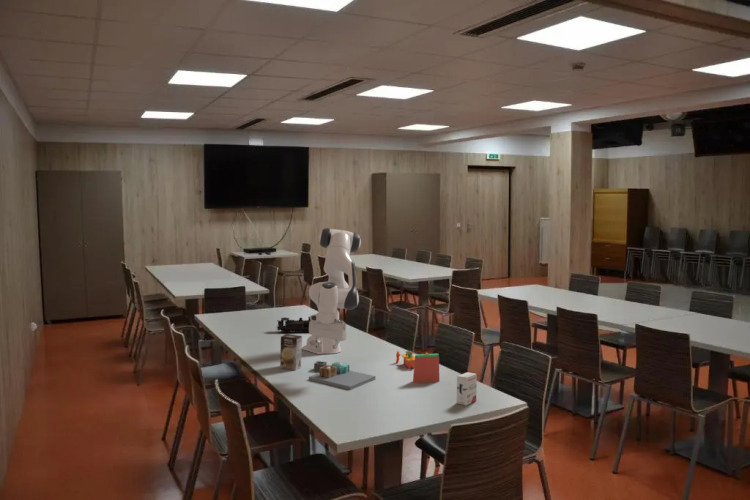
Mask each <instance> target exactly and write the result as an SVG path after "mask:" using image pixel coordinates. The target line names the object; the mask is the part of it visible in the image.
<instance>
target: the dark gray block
mask: <svg viewBox="0 0 750 500" xmlns="http://www.w3.org/2000/svg"><path fill="white" fill-rule="evenodd" d="M327 363H328V362H327V361H320V360H319V361H318V360H317V361H315V362H314V363H313V371H314V372H320V367H323V366H326V365H328V364H327Z"/></svg>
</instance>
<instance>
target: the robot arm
mask: <svg viewBox="0 0 750 500" xmlns="http://www.w3.org/2000/svg"><path fill="white" fill-rule="evenodd" d="M318 243H319V245H320V247H321V248H324V249H327V251H326V255H325V258H324V259H325V261H324V266H323V272H324V273H325V274H327V276H328V280H327V281H322V282H321V281H319V282H317V283H314V284H312V285H310V287H309V290H308V295H309V298H310V300H311V301H312V302H313V303H314V304H315V305H316V308H317V311H318V313H315V314H312V315H309V317H310V320H311V321H310V323H309V331H308V332H309V333H308V334H309V335H310V336H308V338H307V340H306V344H305V345H303V346H302V350H304V351H307V352H310V353H314V354H317V355H323V354H324V355H327V354H331V355H332V354H338V353H341V352H342V347H341V343H340V342H343V341H345V340H347V335H348V334H347V324H346V322H345V321H344V320H341V319H340V312H339V310H338V309H345V310H349V311H350V310H351V311H352V310H354V309H355V308H357V307H358V305H359V302H360V296H359V293H358V284H357V283H358V280H357V272H356V271H357V268H356V262H355V261H354V260H353V259H351V254H350V253H357V252H358V251H359V249H360V248H361V246H362V245H361V244H362V240H361V235H360V234H359V233H356V232H351V231H348V230H343V229H335V228H328V227H327V228H323V229H322V230H321V231H320V234H319V236H318ZM345 275H347V276H348V282H347V281H346V280H345Z"/></svg>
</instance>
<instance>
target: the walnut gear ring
mask: <svg viewBox="0 0 750 500" xmlns="http://www.w3.org/2000/svg"><path fill="white" fill-rule="evenodd" d="M330 365H331V364H327V365H326V366H323V367H320V371H319V373H320V376H322V377H327V378H331V377H333V376H336V375H337V367H335V366H330ZM326 367H330V368H329V369H328V368H326Z"/></svg>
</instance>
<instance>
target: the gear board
mask: <svg viewBox="0 0 750 500" xmlns="http://www.w3.org/2000/svg"><path fill="white" fill-rule="evenodd" d="M329 365H330V366H335V367H337V375H336V376H333V377H331V378H327V377H322V376H320V372H318V373H315V374H313V375H310V376H308V381H312V382H316V383H320V384H324V385H328V386H333V387H336V388H340V389H345V390H348V391H351V390H353V389H355V388H358V387H360V386H363V385H365V384H368V383H370V382H373V381H375V380H376V375H371V374H368V373H363V372H359V371H353V370H350V364H348V363H346V362H342V361H340V362H339V361H337V362H333V363H332V364H329ZM326 368H328V369H329V368H330V367H326Z"/></svg>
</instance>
